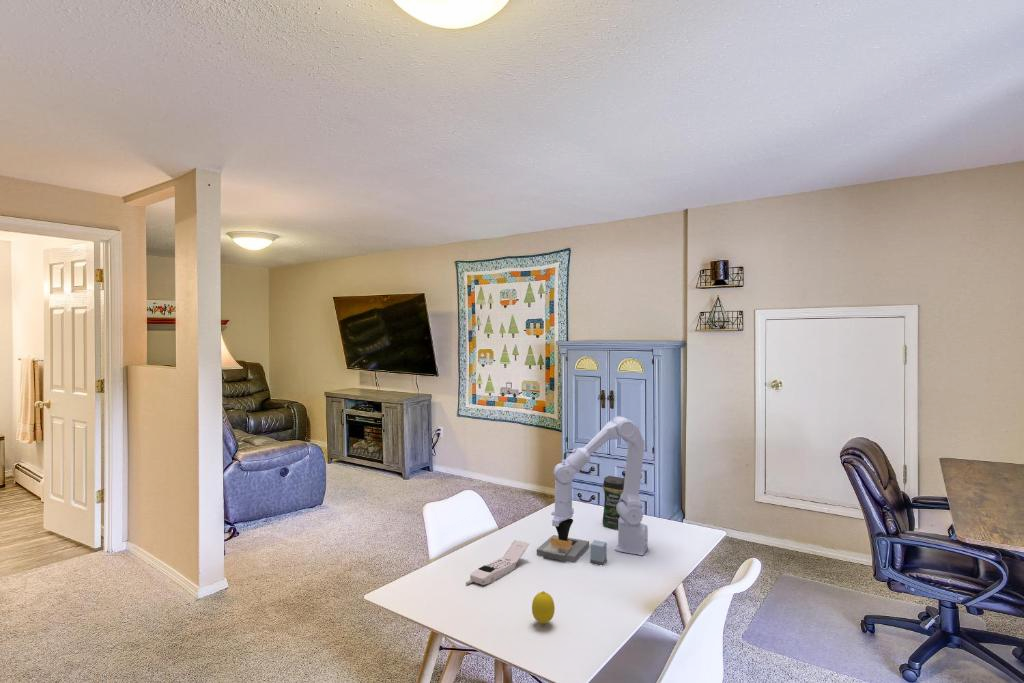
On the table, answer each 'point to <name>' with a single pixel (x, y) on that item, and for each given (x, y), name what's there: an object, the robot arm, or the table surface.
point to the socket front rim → (574, 540)
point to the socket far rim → (550, 539)
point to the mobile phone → (499, 565)
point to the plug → (598, 552)
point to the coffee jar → (612, 500)
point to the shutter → (558, 546)
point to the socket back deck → (570, 556)
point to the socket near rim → (581, 546)
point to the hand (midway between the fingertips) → (563, 541)
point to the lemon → (543, 607)
